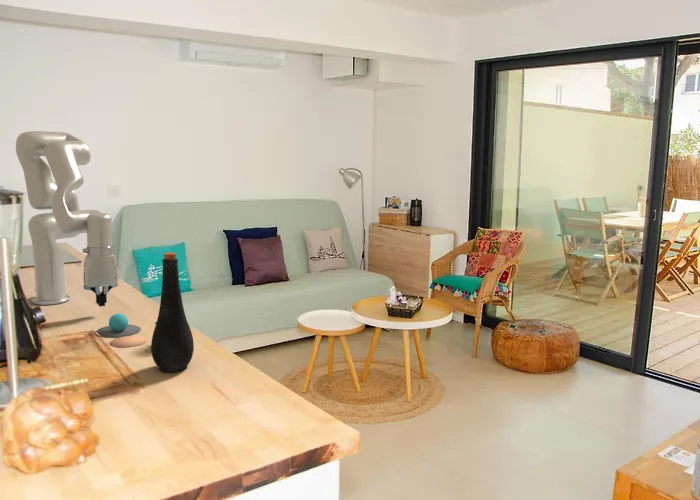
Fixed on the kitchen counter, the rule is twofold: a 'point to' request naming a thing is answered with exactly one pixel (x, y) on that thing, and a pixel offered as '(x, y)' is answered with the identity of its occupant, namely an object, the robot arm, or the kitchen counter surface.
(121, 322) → the ball
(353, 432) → the kitchen counter surface
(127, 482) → the kitchen counter surface
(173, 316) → the bottle
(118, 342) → the far mark
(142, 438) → the kitchen counter surface
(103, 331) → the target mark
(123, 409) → the kitchen counter surface
